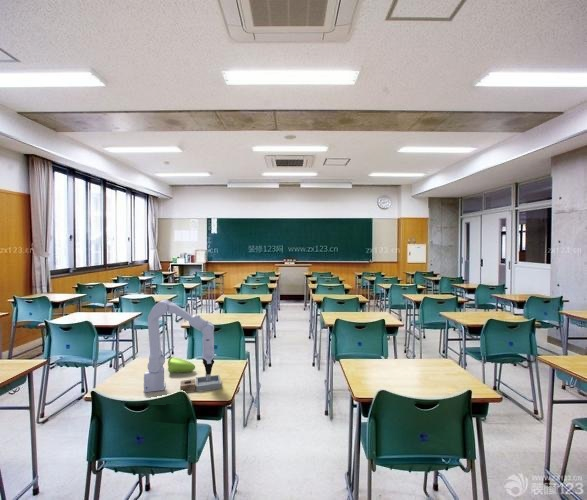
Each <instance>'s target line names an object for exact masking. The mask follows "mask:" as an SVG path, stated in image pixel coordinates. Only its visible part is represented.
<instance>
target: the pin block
mask: <svg viewBox="0 0 587 500" xmlns="http://www.w3.org/2000/svg"><path fill="white" fill-rule="evenodd" d="M179 388H180V390H183V391H186V392H192V391H196V378H193V379H184V380H183V379H182V380H180V387H179ZM180 390H179V391H180Z"/></svg>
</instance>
